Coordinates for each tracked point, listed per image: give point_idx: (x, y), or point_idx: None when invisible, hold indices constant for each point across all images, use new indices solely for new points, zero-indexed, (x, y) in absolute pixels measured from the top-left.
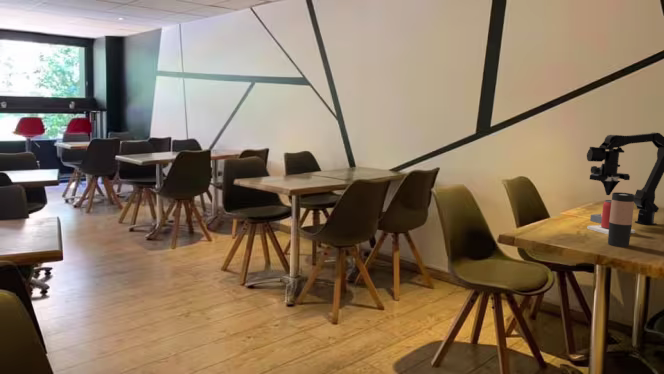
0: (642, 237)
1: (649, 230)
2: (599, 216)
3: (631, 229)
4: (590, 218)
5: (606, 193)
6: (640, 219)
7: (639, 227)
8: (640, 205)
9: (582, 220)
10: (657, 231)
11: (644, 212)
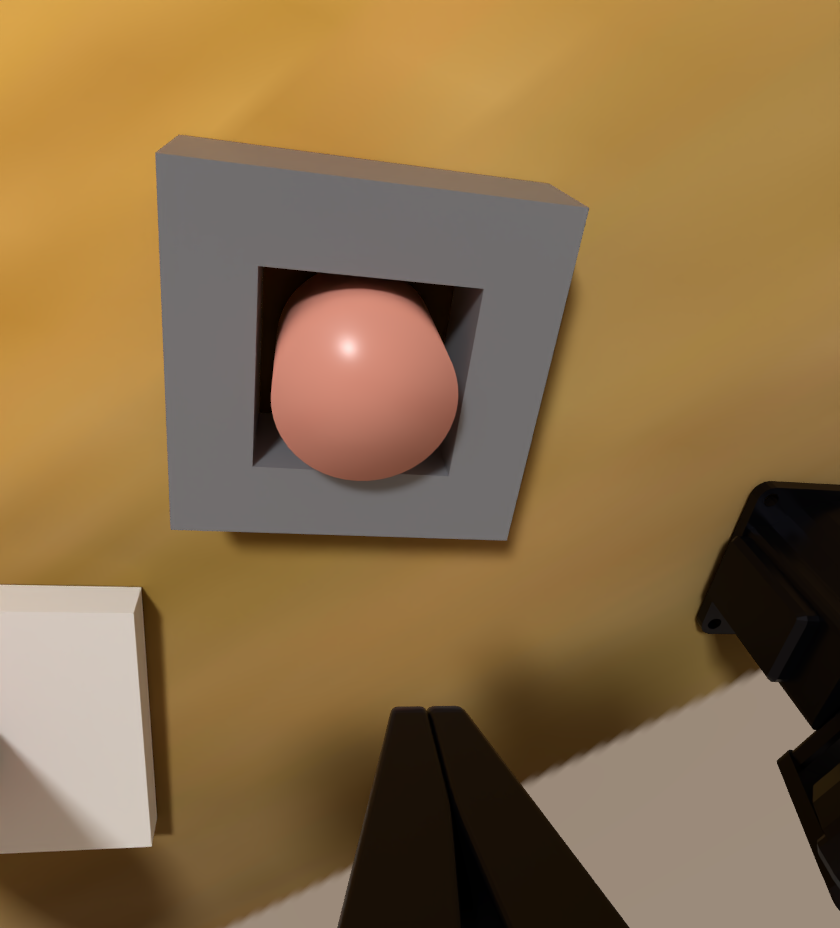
0: (66, 918)
1: None
2: (183, 375)
3: (141, 822)
4: (171, 141)
5: (378, 765)
6: (737, 599)
7: (490, 670)
8: (835, 782)
9: (23, 32)
10: None
11: (801, 708)
